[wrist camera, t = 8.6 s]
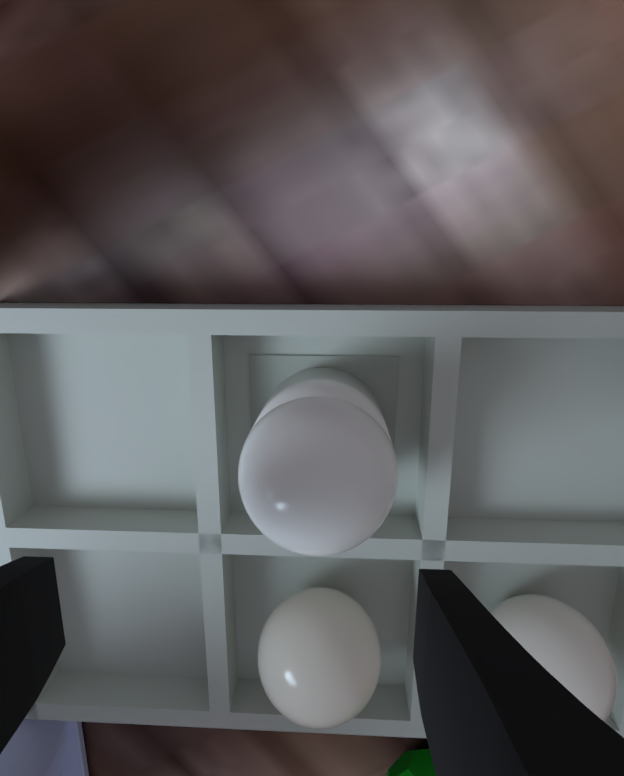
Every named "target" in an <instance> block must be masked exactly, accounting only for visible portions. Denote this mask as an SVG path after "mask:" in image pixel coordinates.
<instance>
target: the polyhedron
mask: <svg viewBox="0 0 624 776" xmlns="http://www.w3.org/2000/svg"><path fill="white" fill-rule="evenodd" d="M387 776H436V774H435V770H434V766H433V762H432V758H431V754H430V750H429V749H418V750H409V751H405V752H404V753H403V754H402V755H401V756H400V758H399V759H398V760H397V761H396V762H395V763H394V764H393V765H392V766H391V767H390V769H389V770H388V773H387Z"/></svg>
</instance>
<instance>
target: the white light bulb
mask: <svg viewBox="0 0 624 776" xmlns="http://www.w3.org/2000/svg"><path fill="white" fill-rule="evenodd" d="M238 484H239V491H240V495H241V499H242V502H243V504H244V507H245V510H246V512H247V513H248V515H249V517H250V519H251V520H252V522H253V523H254V524H255V526H256V527H257V528H258V529H259V530H260V531H261V533H262V534H263V535H264V536H266V537H267V538H268V539H269V540H270V541H272V542H273V543H275V544H276V545H278V546H279V547H282V548H284V549H286V550H288V551H291V552H294V553H297V554H301V555H306V556H330V555H336V554H340V553H343V552H346V551H348V550H351V549H353V548H355V547H357V546H358V545H360V544H362V543H363V542H364V541H366V540H367V539H368V538H370V537H371V536H372V535H373V534H374V533H375V532H376V531H377V530H378V529H379V527H380V526H381V525H382V524H383V522H384V520H385V519H386V517H387V516H388V514H389V512H390V510H391V508H392V505H393V503H394V499H395V496H396V491H397V485H398V466H397V460H396V455H395V451H394V448H393V445H392V442H391V438H390V435H389V432H388V429H387V426H386V422H385V419H384V416H383V413H382V410H381V406H380V404H379V402H378V400H377V398H376V396H375V395H374V393H373V392H372V391H371V390H370V388H369V387H368V386H367V385H366V384H365V383H364V382H362V381H361V380H360V379H358V378H357V377H355V376H354V375H352V374H350V373H348V372H345V371H342V370H339V369H334V368H327V367H318V368H310V369H306V370H303V371H299V372H297V373H295V374H293V375H291V376H290V377H288V378H286V379H285V380H284V381H283V382H281V383H280V384H279V385H278V386H277V387H276V388H275V390H274V391H273V392H272V394H271V395H270V397H269V398H268V400H267V402H266V404H265V406H264V407H263V409H262V411H261V413H260V415H259V416H258V418H257V420H256V422H255V424H254V425H253V427H252V429H251V431H250V433H249V435H248V437H247V439H246V441H245V443H244V446H243V449H242V452H241V455H240V459H239V465H238Z"/></svg>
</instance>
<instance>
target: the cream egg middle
mask: <svg viewBox="0 0 624 776" xmlns="http://www.w3.org/2000/svg"><path fill="white" fill-rule="evenodd" d="M257 659H258V671H259V675H260V679H261V683H262V686H263V688H264V690H265V693H266V695H267V696H268V698H269V700H270V701H271V703H272V704H273V705H274V707H275V708H276V709H277V710H278V711H279V712H280V713H281V714H282V715H283V716H284V717H286V718H287V719H288V720H290V721H292V722H293V723H295V724H298V725H300V726H303V727H306V728H311V729H328V728H333V727H337V726H340V725H342V724H344V723H346V722H348V721H349V720H351V719H353V718H354V717H355V716H356V715H358V714H359V713H360V712H361V711H362V710H363V708H364V707H365V706H366V705H367V704H368V702H369V701H370V699H371V697H372V695H373V693H374V691H375V689H376V686H377V683H378V680H379V677H380V670H381V646H380V641H379V636H378V634H377V631H376V628H375V626H374V624H373V622H372V620H371V618H370V617H369V615H368V614H367V612H366V611H365V609H364V608H363V607H362V606H361V605H360V604H359V603H358V602H357V601H355V600H354V599H353V598H352V597H350V596H348V595H347V594H345V593H343V592H341V591H338V590H335V589H332V588H327V587H311V588H306V589H303V590H300V591H297V592H295V593H293V594H291V595H289V596H288V597H287V598H285V599H284V600H283V601H281V602H280V603H279V604H278V605H277V606H276V608H275V609H274V610H273V611H272V613H271V614H270V615H269V617H268V619H267V621H266V623H265V625H264V627H263V630H262V632H261V636H260V640H259V644H258V656H257Z"/></svg>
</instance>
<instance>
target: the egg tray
mask: <svg viewBox="0 0 624 776" xmlns="http://www.w3.org/2000/svg"><path fill="white" fill-rule="evenodd" d="M318 367H327V368H334V369H339V370H342V371H345V372H348V373H350V374H352V375H354V376H355V377H357V378H358V379H360V380H361V381H362V382H364V383H365V384H366V385H367V386H368V387H369V388H370V390H371V391H372V392H373V393H374V395H375V396H376V398H377V400H378V402H379V404H380V406H381V410H382V413H383V416H384V419H385V422H386V426H387V429H388V432H389V435H390V438H391V442H392V445H393V448H394V451H395V455H396V460H397V466H398V485H397V491H396V496H395V499H394V503H393V505H392V508H391V510H390V512H389V514H388V516H387V517H386V519H385V520H384V522H383V524H382V525H381V526H380V527H379V529H378V530H377V531H376V532H375V533H374V534H373V535H372V536H371V537H370V538H368V539H367V540H366V541H364V542H363V543H362V544H360V545H358V546H357V547H355V548H353V549H351V550H348V551H346V552H343V553H340V554H336V555H330V556H306V555H301V554H297V553H294V552H291V551H288V550H286V549H284V548H282V547H279V546H278V545H276V544H275V543H273V542H272V541H270V540H269V539H268V538H267V537H266V536H264V535H263V534H262V533H261V531H260V530H259V529H258V528H257V527H256V526H255V524H254V523H253V522H252V520H251V519H250V517H249V515H248V513H247V512H246V510H245V507H244V504H243V502H242V499H241V495H240V491H239V484H238V465H239V459H240V455H241V452H242V449H243V446H244V443H245V441H246V439H247V437H248V435H249V433H250V431H251V429H252V427H253V425H254V424H255V422H256V420H257V418H258V416H259V415H260V413H261V411H262V409H263V407H264V406H265V404H266V402H267V400H268V398H269V397H270V395H271V394H272V392H273V391H274V390H275V388H276V387H277V386H278V385H279V384H280V383H281V382H283V381H284V380H285V379H286V378H288V377H290V376H291V375H293V374H295V373H297V372H299V371H303V370H306V369H310V368H318ZM23 556H32V557H54V564H55V571H56V578H57V586H58V593H59V600H60V607H61V614H62V621H63V628H64V635H65V643H66V645H65V647H64V649H63V651H62V653H61V655H60V657H59V659H58V661H57V663H56V665H55V667H54V669H53V671H52V673H51V675H50V677H49V678H48V680H47V682H46V684H45V686H44V688H43V689H42V691H41V693H40V695H39V697H38V699H37V700H36V702H35V703H34V705H33V706H32V708H31V709H30V711H29V712H28V714H27V715H26V717H25V718H24V719H37V720H58V721H79V722H99V723H120V724H140V725H161V726H182V727H202V728H223V729H243V730H264V731H285V732H305V733H326V734H347V735H367V736H388V737H408V738H427V737H426V733H425V729H424V725H423V721H422V717H421V711H420V705H419V698H418V691H417V684H416V677H415V670H414V662H413V649H414V634H415V619H416V605H417V590H418V575H419V569H442V570H452V571H453V572H454V574H455V575H456V576H457V577H458V578H459V579H460V580H461V581H462V582H463V583H464V584H465V586H466V587H467V588H468V589H469V590H470V591H471V592H472V593H473V594H474V595H475V597H476V598H477V599H478V600H479V601H480V602H481V603H482V604H483V605H484V606H485V608H486V609H487V610H488V611H489V612H490V611H491V610H492V609H493V608H494V607H495V606H497V605H498V604H499V603H501V602H502V601H504V600H506V599H509V598H511V597H514V596H518V595H524V594H538V595H544V596H549V597H552V598H555V599H558V600H560V601H563V602H565V603H567V604H568V605H570V606H572V607H573V608H575V609H576V610H578V611H579V612H580V613H582V614H583V615H584V616H585V617H586V618H587V619H588V620H589V621H590V622H591V623H592V624H593V625H594V626H595V627H596V629H597V630H598V631H599V632H600V634H601V635H602V637H603V639H604V640H605V642H606V644H607V645H608V648H609V650H610V652H611V655H612V657H613V660H614V664H615V669H616V675H617V692H616V699H615V702H614V705H613V708H612V710H611V712H610V714H609V716H608V718H607V719H606V720H605V721H604V722H605V723H606V724H608V725H609V726H610V727H611V728H612V729H614V730H615V731H616V732H617V733H619V734H620V735H621V736H622V737H623V738H624V306H508V305H333V304H157V303H0V566H2V565H4V564H7V563H9V562H11V561H14V560H16V559H18V558H21V557H23ZM311 587H327V588H332V589H335V590H338V591H341V592H343V593H345V594H347V595H348V596H350V597H352V598H353V599H354V600H355V601H357V602H358V603H359V604H360V605H361V606H362V607H363V608H364V609H365V611H366V612H367V614H368V615H369V617H370V618H371V620H372V622H373V624H374V626H375V628H376V631H377V634H378V636H379V641H380V646H381V670H380V677H379V680H378V683H377V686H376V689H375V691H374V693H373V695H372V697H371V699H370V701H369V702H368V704H367V705H366V706H365V707H364V708H363V710H362V711H361V712H360V713H359V714H358V715H356V716H355V717H354V718H353V719H351V720H349V721H348V722H346V723H344V724H342V725H340V726H337V727H333V728H328V729H311V728H306V727H303V726H300V725H298V724H295V723H293V722H292V721H290V720H288V719H287V718H286V717H284V716H283V715H282V714H281V713H280V712H279V711H278V710H277V709H276V708H275V707H274V705H273V704H272V703H271V701H270V700H269V698H268V696H267V695H266V693H265V690H264V688H263V686H262V683H261V679H260V675H259V671H258V659H257V656H258V644H259V640H260V636H261V632H262V630H263V627H264V625H265V623H266V621H267V619H268V617H269V615H270V614H271V613H272V611H273V610H274V609H275V608H276V606H277V605H278V604H279V603H280V602H281V601H283V600H284V599H285V598H287V597H288V596H289V595H291V594H293V593H295V592H297V591H300V590H303V589H306V588H311Z"/></svg>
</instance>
